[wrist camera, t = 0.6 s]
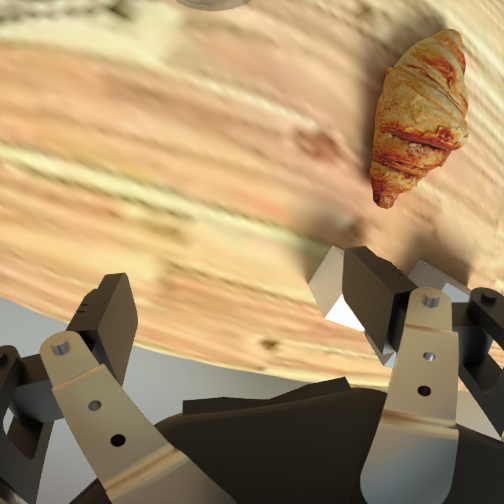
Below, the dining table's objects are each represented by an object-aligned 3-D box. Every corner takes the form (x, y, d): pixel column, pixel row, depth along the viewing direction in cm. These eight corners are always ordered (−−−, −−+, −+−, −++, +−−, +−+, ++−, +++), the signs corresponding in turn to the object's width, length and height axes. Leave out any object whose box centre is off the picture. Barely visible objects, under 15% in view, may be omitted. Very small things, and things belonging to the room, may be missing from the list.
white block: (332, 244, 32) (355, 274, 27) (367, 262, 34) (392, 291, 28) (307, 284, 34) (324, 318, 29) (342, 298, 36) (363, 331, 30)
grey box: (418, 256, 35) (446, 282, 29) (465, 285, 38) (490, 308, 33) (364, 334, 39) (383, 366, 34) (418, 349, 43) (437, 376, 37)
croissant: (407, 21, 25) (416, -14, 18) (485, 64, 24) (512, 40, 16) (337, 182, 33) (331, 184, 25) (419, 227, 31) (437, 242, 23)
